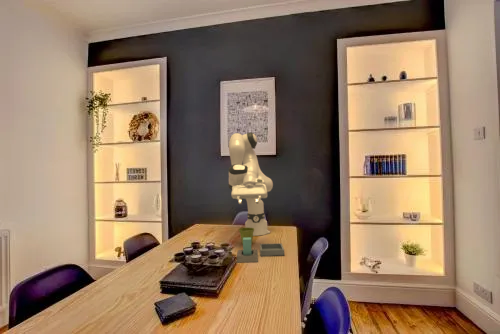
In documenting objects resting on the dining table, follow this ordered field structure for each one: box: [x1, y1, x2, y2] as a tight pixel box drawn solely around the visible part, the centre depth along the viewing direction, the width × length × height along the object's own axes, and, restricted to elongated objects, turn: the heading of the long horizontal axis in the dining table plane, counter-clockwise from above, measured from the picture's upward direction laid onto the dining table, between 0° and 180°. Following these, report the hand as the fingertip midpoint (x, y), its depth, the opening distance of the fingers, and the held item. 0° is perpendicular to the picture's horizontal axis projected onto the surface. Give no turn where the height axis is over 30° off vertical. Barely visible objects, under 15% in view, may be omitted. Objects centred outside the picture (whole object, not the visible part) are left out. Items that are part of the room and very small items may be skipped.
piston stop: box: [242, 237, 253, 255], centre depth 127 cm, size 4×4×10 cm
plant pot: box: [238, 227, 254, 245], centre depth 154 cm, size 9×9×9 cm
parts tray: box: [259, 242, 285, 257], centre depth 135 cm, size 12×12×3 cm
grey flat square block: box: [236, 248, 259, 264], centre depth 126 cm, size 10×10×3 cm
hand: (248, 203), depth 139 cm, fingers open, 8 cm apart
